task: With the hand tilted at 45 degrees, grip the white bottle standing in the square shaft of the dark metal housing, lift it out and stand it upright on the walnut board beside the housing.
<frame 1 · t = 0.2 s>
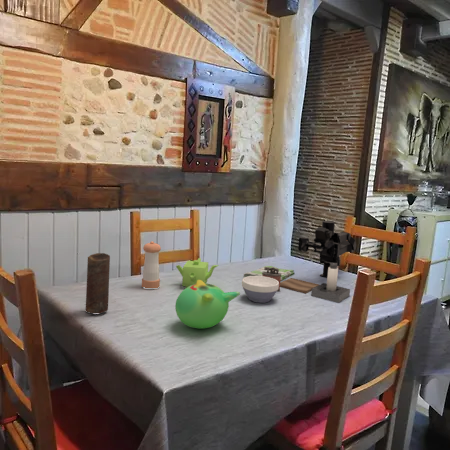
hand: (311, 250, 190), 17 cm above the table, tool horizontal, fingers open, 9 cm apart
candle: (97, 313, 148), on the table
board: (298, 286, 194), on the table
white bottle: (332, 279, 182), in the housing
kettle: (196, 286, 185), on the table
lighter: (270, 290, 186), on the table
pepper shaker: (150, 287, 180), on the table
toy bird: (202, 326, 142), on the table
housing: (330, 295, 183), on the table
dish towel: (269, 276, 209), on the table
bowl: (259, 299, 173), on the table
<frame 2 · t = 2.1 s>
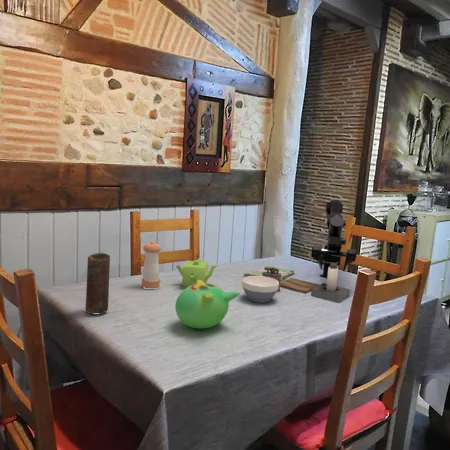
hand: (332, 270, 184), 10 cm above the table, tool tilted 45°, fingers open, 9 cm apart
nothing on the table moved.
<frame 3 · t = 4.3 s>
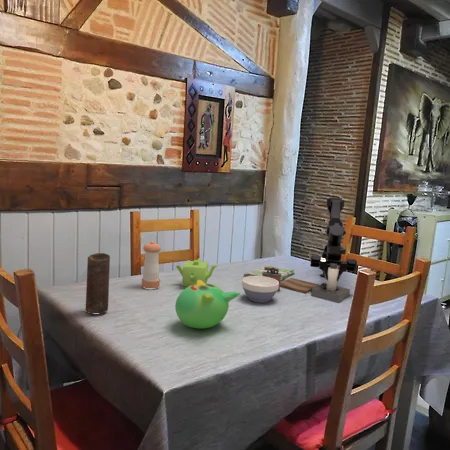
hand: (332, 280, 180), 7 cm above the table, tool tilted 45°, fingers closed on white bottle, 4 cm apart
white bottle: (332, 279, 182), in the housing, touching gripper
everything else where it was.
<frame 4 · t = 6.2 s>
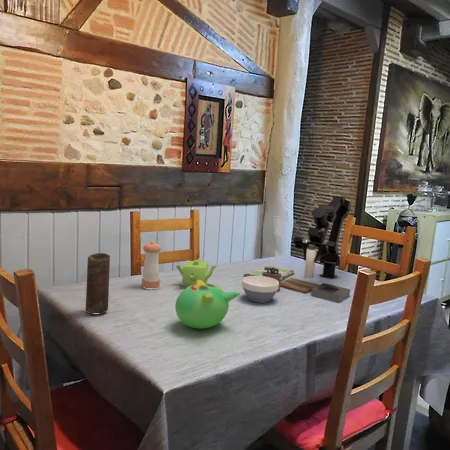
hand: (309, 261, 184), 13 cm above the table, tool tilted 45°, fingers closed on white bottle, 4 cm apart
white bottle: (310, 260, 186), point 13 cm above the table, touching gripper
everything else where it was.
when the fingers open (9 cm above the table, at t = 8.5 s): white bottle stays where it is, resting on board.
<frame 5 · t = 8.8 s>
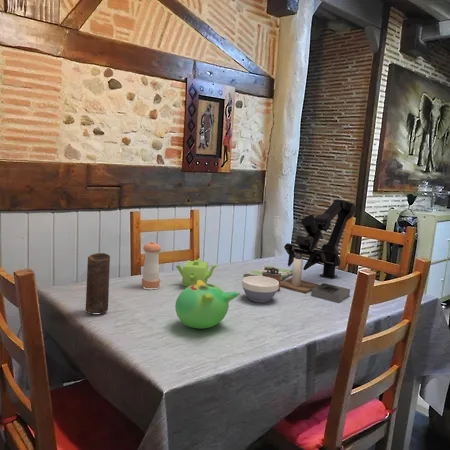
hand: (296, 267, 190), 9 cm above the table, tool tilted 45°, fingers open, 8 cm apart
white bottle: (297, 269, 191), on the board, point 8 cm above the table
everything else where it was.
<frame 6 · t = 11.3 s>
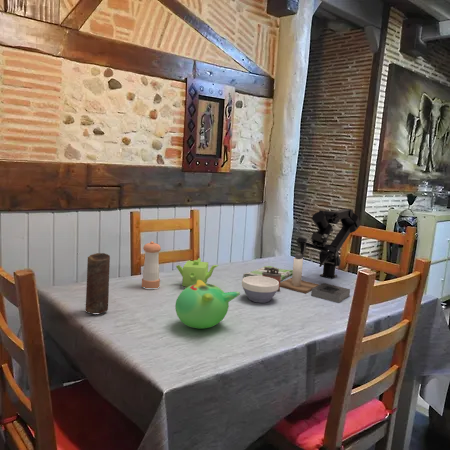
hand: (310, 263, 197), 10 cm above the table, tool tilted 40°, fingers open, 9 cm apart
nothing on the table moved.
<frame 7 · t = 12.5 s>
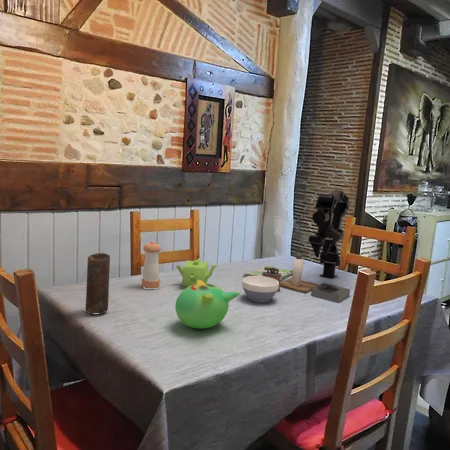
hand: (321, 256, 198), 13 cm above the table, tool pointing down, fingers open, 9 cm apart
nothing on the table moved.
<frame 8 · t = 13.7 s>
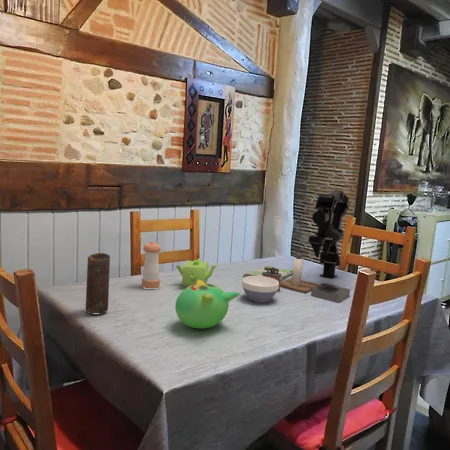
hand: (321, 256, 198), 13 cm above the table, tool pointing down, fingers open, 9 cm apart
nothing on the table moved.
at the end: white bottle inside the target area on the board (1.0 cm from its centre), point 8.0 cm above the board's base; white bottle tilted 1°; the gripper is holding nothing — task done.
